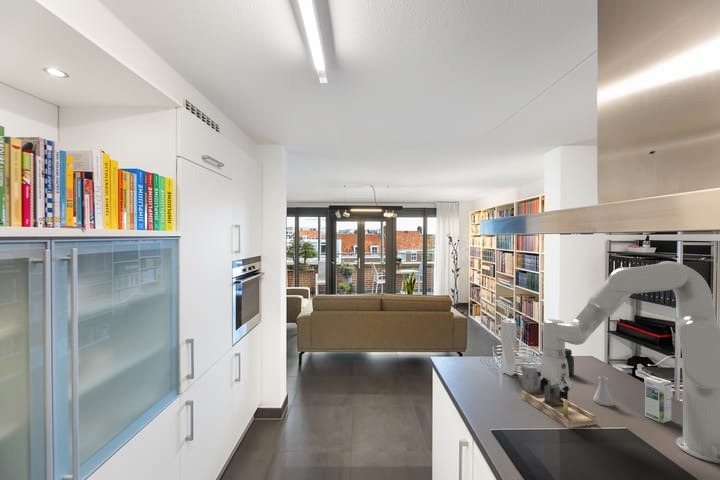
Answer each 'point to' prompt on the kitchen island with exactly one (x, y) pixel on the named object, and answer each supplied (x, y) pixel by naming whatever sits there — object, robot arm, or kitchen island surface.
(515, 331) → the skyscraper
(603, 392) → the flask
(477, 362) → the kitchen island surface
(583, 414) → the wooden tray
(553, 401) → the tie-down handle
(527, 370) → the grey stone block
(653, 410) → the syrup box
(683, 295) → the robot arm
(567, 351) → the supplement bottle
